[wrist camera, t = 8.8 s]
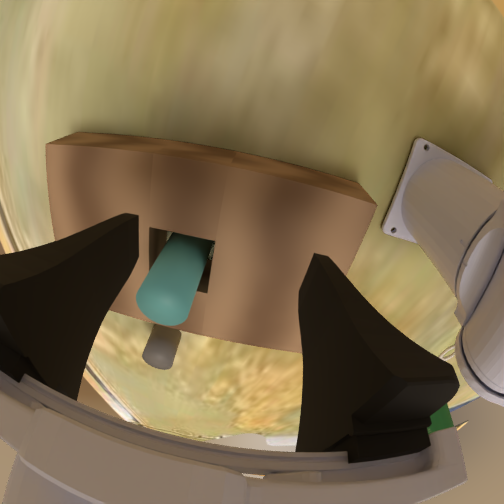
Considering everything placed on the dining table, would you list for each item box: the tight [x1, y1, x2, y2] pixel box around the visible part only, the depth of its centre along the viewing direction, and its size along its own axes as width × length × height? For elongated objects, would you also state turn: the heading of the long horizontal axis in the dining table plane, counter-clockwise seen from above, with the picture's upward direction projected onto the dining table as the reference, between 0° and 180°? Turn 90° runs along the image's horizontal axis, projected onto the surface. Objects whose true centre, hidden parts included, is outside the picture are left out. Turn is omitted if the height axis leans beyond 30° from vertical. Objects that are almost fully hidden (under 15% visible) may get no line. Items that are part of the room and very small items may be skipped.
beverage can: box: [427, 403, 454, 434], centre depth 32 cm, size 8×8×12 cm
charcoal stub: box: [142, 324, 181, 370], centre depth 26 cm, size 3×3×4 cm
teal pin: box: [136, 232, 214, 326], centre depth 18 cm, size 3×3×8 cm
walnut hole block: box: [46, 132, 377, 353], centre depth 20 cm, size 22×14×4 cm, turn 78°
